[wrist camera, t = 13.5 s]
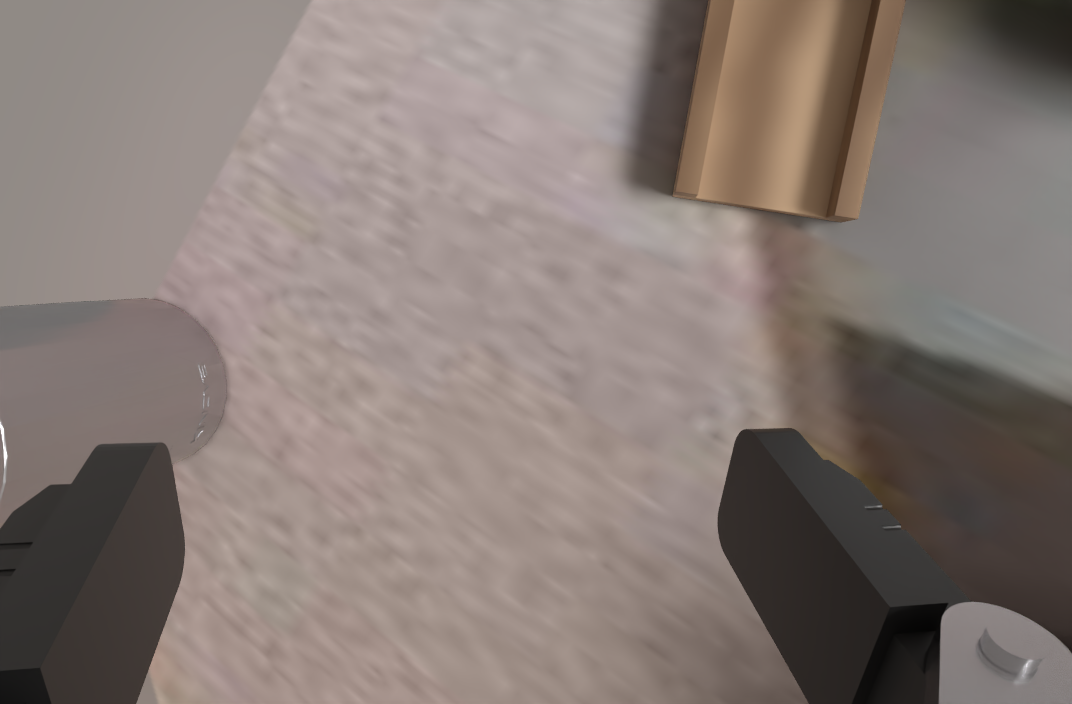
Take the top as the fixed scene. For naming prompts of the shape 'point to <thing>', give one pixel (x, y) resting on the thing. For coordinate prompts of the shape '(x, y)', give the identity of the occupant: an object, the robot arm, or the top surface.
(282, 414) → the top surface
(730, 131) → the track
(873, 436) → the top surface
